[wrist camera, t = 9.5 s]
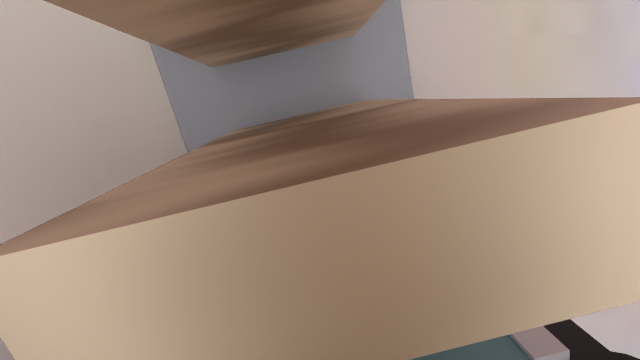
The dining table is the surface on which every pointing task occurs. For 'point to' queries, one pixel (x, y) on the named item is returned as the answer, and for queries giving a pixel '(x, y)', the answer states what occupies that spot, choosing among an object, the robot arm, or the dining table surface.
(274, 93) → the mat
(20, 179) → the dining table surface
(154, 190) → the tile
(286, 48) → the tile
